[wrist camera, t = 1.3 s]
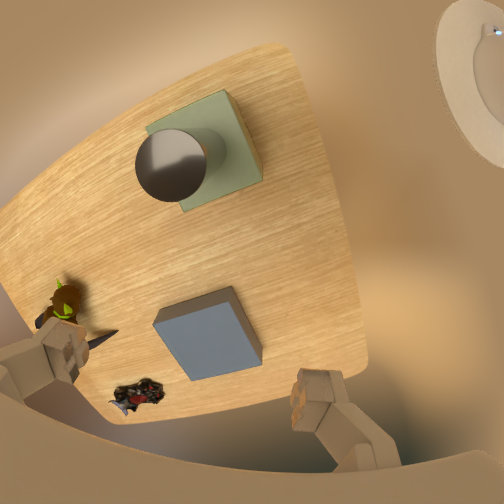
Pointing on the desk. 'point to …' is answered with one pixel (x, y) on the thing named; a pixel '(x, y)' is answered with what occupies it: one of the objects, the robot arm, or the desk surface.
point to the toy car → (137, 395)
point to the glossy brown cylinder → (179, 161)
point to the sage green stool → (236, 139)
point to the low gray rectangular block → (209, 335)
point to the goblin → (67, 310)
